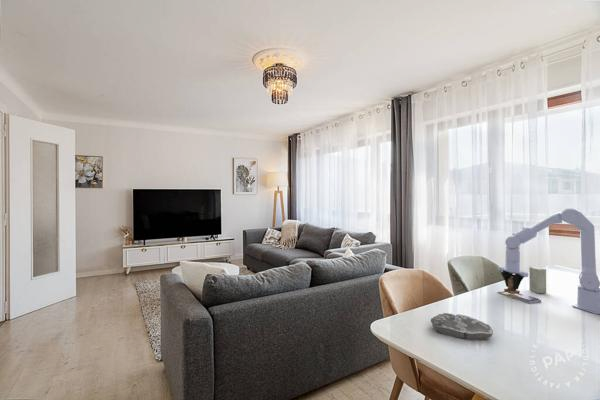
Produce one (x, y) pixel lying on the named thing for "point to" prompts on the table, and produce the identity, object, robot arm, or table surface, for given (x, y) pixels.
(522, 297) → the ink pad
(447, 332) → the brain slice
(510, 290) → the stamp
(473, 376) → the table surface
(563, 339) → the table surface
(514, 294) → the beige square tile
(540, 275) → the skincare box
